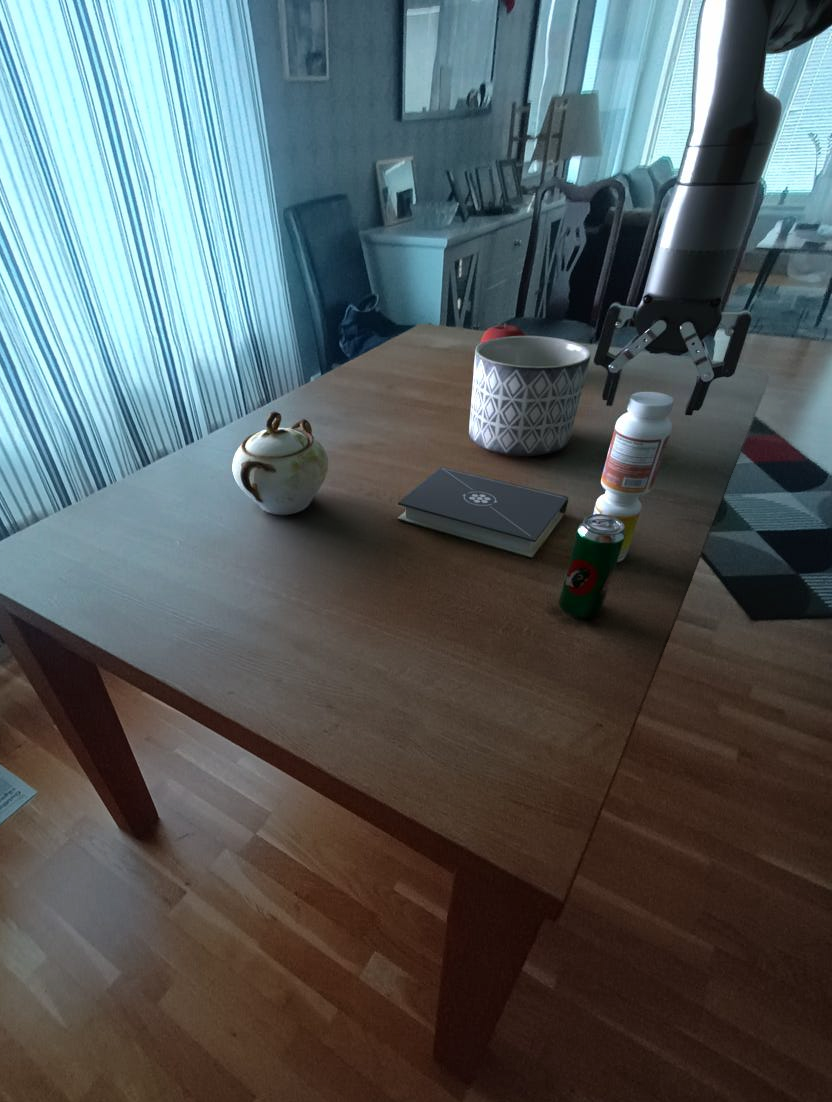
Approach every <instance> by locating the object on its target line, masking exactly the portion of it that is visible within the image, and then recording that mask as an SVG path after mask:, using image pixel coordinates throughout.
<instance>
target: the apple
mask: <svg viewBox="0 0 832 1102" xmlns="http://www.w3.org/2000/svg"><path fill="white" fill-rule="evenodd" d="M510 336H526V333H525V332H524V331H523V330H522V328H520V327H518V326H516V325H509V324H507V322H505V323H504V324H499V325H494V326H490V327H489V328H488V329H486V330H485V331H484V333H483V335H482V337H481V340H480V342H479V344H481V343H483V342H485V341H488V340H492V339H496V338H502V337H510Z"/></svg>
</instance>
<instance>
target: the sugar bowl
mask: <svg viewBox="0 0 832 1102" xmlns="http://www.w3.org/2000/svg"><path fill="white" fill-rule="evenodd" d="M281 422H282V415H281V413H280V412H278V411H275V410H273V411H271V412H270V413H269V414H268V416H267V419H266V423H265V428H266V429H263V430H260V431H257V432H255V433H252V434H250V435H249V436H247V437H246V438H244V440H243V441H242V442H241V444H240V446H239V447H238V448H237V450H236V452H235V453H234V456H233V459H232V463H231V464H232V465H231V467H232V469H231V470H232V474H233V477H234V480H235V482H236V484H237V485H238V487H239V488H240V489H241V490H242V492H244V493H245V494H246V496H247V497H249V498H250V499H251V500H252V501H253V502H254V503H256V504H257V505H258V506H259V507H260V508H261V509H262V510H263V511H264V512H267V513H269V514H272V515H278V516H287V515H293V514H296V513H299V512H301V511H303V510H305V509H306V508H307V507H309V506H310V504H311V502H312V501H313V499H314V497H315V496H316V494H317V493H318V492H319V490H320V489H321V488H322V485H323V483H324V481H325V480H326V477H327V474H328V470H329V458H328V454H327V452H326V450H325V448H324V446H323V445H322V444H321V443H320V442H319V441H318V440H317V439H316V438H315V436H314V435H313V429H312V425H311V423H310V421H308V420H307V419H306V418H301V419H299V420H298V421H296V422H295V423H294V424H292V425H291V426H289V427H280V426H281ZM299 428H300V429H299Z"/></svg>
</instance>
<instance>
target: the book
mask: <svg viewBox="0 0 832 1102" xmlns="http://www.w3.org/2000/svg"><path fill="white" fill-rule="evenodd" d="M568 503H569V496H567V495H563V494H559V493H555V492H551V491H546V490H542V489H538V488H533V487H529V486H525V485H521V484H516V483H513V482H507V481H503V480H499V479H494V478H490V477H487V476H482V475H479V474H474V473H469V472H465V471H460V470H456V469H452V468H449V467H443V466H440V467H438V468H437V469H436V470H435V471H434V472H432V473H431V474H430V475H429V476H428V477H426V478H425V479H424V480H423V481H422V482H420V483H419V484H418V485H416V487H414V488H413V489H411V491H410V492H408V493H407V494H406V495H405V496H404V497H402V498H401V499H399V501H398V502H397V505H399V506H402V507H405V511H404V512H403V513H402V514H400V515H399V516H398V517H397V521H399V522H403V523H406V524H410V525H413V526H417V527H420V528H423V529H428V530H430V531H435V532H438V533H441V534H444V535H448V536H452V537H455V538H459V539H462V540H466V541H469V542H472V543H476V544H479V545H482V546H486V547H490V548H493V549H497V550H500V551H503V552H507V553H511V554H514V555H517V556H520V557H524V558H527V559H533V558H534V556H535V555H536V554H537V552H538V551H539V550H540V548H541V547H542V546H543V545H544V543H545V542H546V540H548V538H549V537H550V535H552V532H553V531H554V530H555V528H556V527H557V526H558V524H559V523H560V522H561V521H562V519H563V517H565V515H566V511H567V508H568Z"/></svg>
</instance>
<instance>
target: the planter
mask: <svg viewBox="0 0 832 1102" xmlns="http://www.w3.org/2000/svg"><path fill="white" fill-rule="evenodd" d="M591 357H592V352H591V350H590V349H589V348H588V347H587V346H585V345H584V344H581V343H578V342H577V341H572V340H568V339H564V338H557V337H551V336H543V335H542V336H541V335H525V336H510V337H502V338H496V339H492V340H488V341H485V342H483V343H481V344H480V343H479V344H478V345H477V346H476V347H475V350H474V363H473V376H472V387H471V401H470V413H469V427H468V434H469V437H470V439H471V440H472V442H474V443H475V444H476V445H477V446H479V447H480V448H483V449H484V450H487V451H490V452H493V453H497V454H500V455H501V454H503V455H507V456H516V457H532V456H533V457H534V456H542V455H543V456H544V455H547V454H551V453H554V452H557V451H560V450H561V449H563V448H564V447H566V446H567V444H568V443H569V442H570V439H571V435H572V431H573V427H574V424H575V420H576V419H575V418H576V415H577V411H578V408H579V404H580V400H581V395H582V392H583V387H584V384H585V380H586V376H587V373H588V370H589V369H588V368H589V365H590V360H591Z"/></svg>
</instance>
